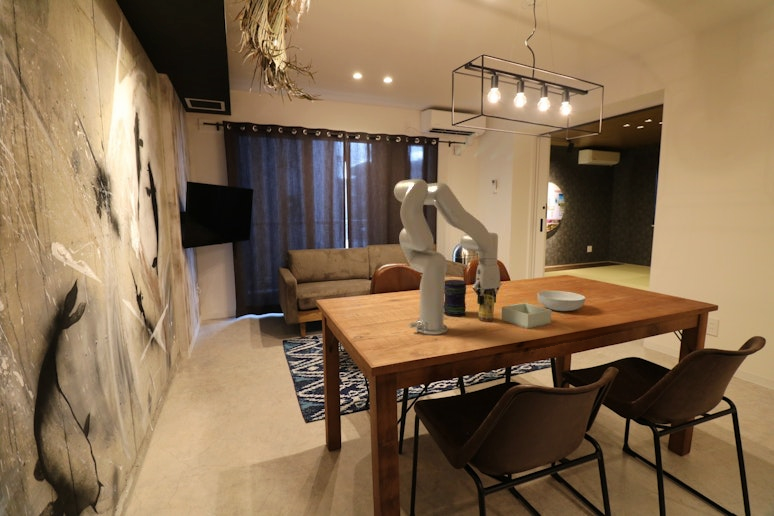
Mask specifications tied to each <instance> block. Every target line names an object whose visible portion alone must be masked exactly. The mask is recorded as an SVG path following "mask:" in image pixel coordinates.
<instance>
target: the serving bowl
mask: <svg viewBox="0 0 774 516" xmlns="http://www.w3.org/2000/svg"><path fill="white" fill-rule="evenodd" d="M536 296H537V300H538V303H540V305H542V307H544V308H546V309H550V310H552V311H557V312H570V311H575V310H579V309H580V308H582V307H583V305H584V304H585V301H586V296H584V295H582V294H579V293H575V292H571V291H563V290H541V291H538V292H537V293H536Z"/></svg>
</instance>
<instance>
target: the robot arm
mask: <svg viewBox="0 0 774 516" xmlns="http://www.w3.org/2000/svg"><path fill="white" fill-rule="evenodd" d="M393 195H394V197H395V199H396V200H397V201H399V202H400V203H401V205H400V210H399V211H400V213H399V215H400V220H401V223H402V225H403V228H402V229H401V231H400V233H399V237H398V238H399V240H398V241H399V245H400V247H401V249H402V251H403V254H404V256H405V259H406V260H407V262H408V264H409V266H410V268H411V269H413V270H414V271H416V272H418V273H421V274H422V276H421V279H420V283H419V318H417V320H416V321H415V322H409V324H408V326H409V328H410V329H411V328H413V329H414V328H415V330H416V331H417V332H418V333H420V334H424V335H432V336H433V335H441V334H442V335H443V334H445V333H447V332H448V326H447V325H446V324H444V321H445V319H444V318H445V314H444V302H445V294H444V285H445V284H444V282H445V281H446V279H445V278H446V272H447V267H448V262H447V259H446V257H445V255H443V254H442V253H441V252H438V251H435V250H430V249H432V247H433V246H434V241H435V240H434V236H433V234H432V232H431V229H430V227H429V224H428V222H427V219H426V218H425V214H424V210H423V209H424V205H425V206H434V207H435V208H436V210H437V211H438V212H439V214H440V215H441V217H442V218H443V219H444V220H445V222H446V223H447V224H448V225H450V226H451V227H453V228H456V229H457V230H460V231H462V232H463V233H464V234H462V236H461V237H460V240H459V241H460V246H461V247H462V248H463V249H464V250H466V251H470V252H477V253H478V260H477V263H478V265H477V268H476V274H475V282H474V284H473V285H472V287H471V288H472V290H474V292H475V295H477V299H476V300H477V301H476V303H477V304H478V305H479V304H481V305H483V304H484V296H483V293H484V290H487V289H494V290H495V296H494V297H495V299H494V304H496V302H497V294H498V291H499V290H500V288H501V286H502V285H503V283H501V273H500V272H501V271H500V266H499V264H498V250H499V249H498V245H499V235H498V234H497V233H495V232H489V231H488V229H487V228H486V226H485V225H484V224H483V223H482V222H481V221H480V219H477V218H476V217H475V216H474V215H472V214H471V213H470V212H468V211H467V210H466V209H465V208H464V206H463V205H462V204H461V202H460V201H459V199H458V197H456V195H455V194H454V192H453V190H452V189H451V188H450V186H448V184H446V183H444V182H434V183H433V182H432V183H427V182H426V181H425V180H424V179H422V178H413V179H403V180H400V181H398V182H397V183H396V184H395V186H394V189H393ZM480 290H481V292H480Z"/></svg>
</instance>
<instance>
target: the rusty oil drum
mask: <svg viewBox="0 0 774 516" xmlns="http://www.w3.org/2000/svg"><path fill="white" fill-rule="evenodd" d="M466 294H467V281H465V280H463V279H462V280H460V279H447V280H444V316H446V317H451V318H461V317H465V316H466V310H467V308H466V305H467V304H466Z"/></svg>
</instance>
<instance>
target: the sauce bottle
mask: <svg viewBox="0 0 774 516" xmlns="http://www.w3.org/2000/svg"><path fill="white" fill-rule="evenodd" d="M480 292H481V290H480ZM483 296H484V304H483V305H481V304H478V320H479V321H481V322H491V321H493V319H494V311H495V310H494V309H495V303H494V299H495V297H494V296H495V290H494V289H487V290H484V293H483Z"/></svg>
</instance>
